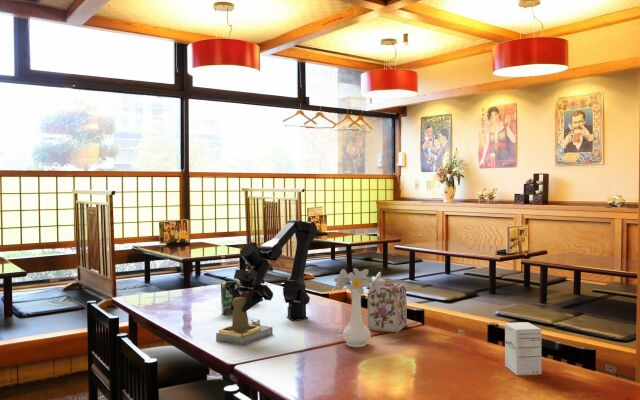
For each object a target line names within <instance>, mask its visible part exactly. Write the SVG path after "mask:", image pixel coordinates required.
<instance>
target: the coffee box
mask: <svg viewBox="0 0 640 400" xmlns="http://www.w3.org/2000/svg"><path fill="white" fill-rule="evenodd" d="M239 281H240V280H236V281H235V282H237V284H238V285H239V286H240V282H239ZM225 284H226V282H221V283H220V300H221V304H220V305H221V315H223V316H226V315H228V316H229V315H233V312H234V310H233V311H232V310H231V303H232V295H231V294H230V293H229V292H228V291H227V289H226V288H225V287H224V285H225Z"/></svg>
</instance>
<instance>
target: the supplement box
mask: <svg viewBox="0 0 640 400" xmlns="http://www.w3.org/2000/svg"><path fill="white" fill-rule="evenodd" d="M504 366H505V367H506V368H507V369H509V370H510V371H511V372H513V373H514V375H516V376H531V375H533V376H534V375H542V368H543V366H542V328H540V327H538V326H537V325H534V324H532V323H530V322H528V321H527V322H524V321H523V322H521V321H520V322H519V321H518V322H505V323H504Z"/></svg>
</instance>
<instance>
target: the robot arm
mask: <svg viewBox="0 0 640 400" xmlns="http://www.w3.org/2000/svg"><path fill="white" fill-rule="evenodd" d="M317 231H318V227H317V224H316V223H315V221H303V220H299V219H288V220H287V221H286V224H285V225H284V226H283V227H282V228H281V229H280V230H279V231H278V233H277V234H276V235H275V236H274V237H273V238H272V239H271V240H268V241H265V242H264V243H262V244H261V245H260V246H259V247H258V245H257V244H256V242H254V241H250V242H249V243H248V244H247V245H245V246H244V247H242V248H241V249H240V251H239V252H240V253H239V255H240V257H241V258H242V259H243V260H244V261H245V263H246V264H247V265H248V266H249V267H251V268H250V269H248V270H245V269H235V272H234V274H233V279H234V280H237V281H240V284H242V286H239V285H238V284H237V282H236V281H232V280H228V281H226V282H225V283H226V284H225V285H224V287H225V288H226V289H227V291H228V292H229V293H230V294H231V295H232V301H233V299H234V298H236V297H243V296H242V295H241V294H242V292H246V293H249V297H248V299H247V301H246V303H245V305H244V307H243V310H242V311H243V312H246V311H247V312H248V311H249V310H250V309H251V308H252V307H254V306H256V305H257V304H259V303H261V302H264V300H265V301H272V299H273V297H274V292H273V291H272V289H271V288H270V287H269V286H268V285H267V284H265V283H266V280H265V277H266V275H267V274H268V272H273V271H274V267H273V264H272V263H270V262H269V261H272V262H275V261H278V259H279V258H280V257H281V255H282V253H283V247H284V246H285V245H286V244H287V243H288V242H289V240H290V239H292V237H294V236H295V239H296V240H297V243H296V248H295V253H294V258H293V263H292V267H291V274H290V277H289V278H288V279H285V280H284V283H283V288H282V296H283V299H284V302H285V303H286V304H287V303H288V306H287V316H286V318H287V319H290V320H292V321H294V322H295V321H301V320H306V319H309V317H308V316H307V305H308V304H309V303H310V301H311V298H310V296H309V294H308V293H307V291H306V288H307V287H306V284H305V280H304V275H305V270H306V267H307V266H306V265H307V259H308V254H309V251H310V250H309V248H310V245H311V243H312V242H313V241H314V239H315V237H316V235H317ZM231 310H232V311H233V310H234V307H233V305H232V303H231Z"/></svg>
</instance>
